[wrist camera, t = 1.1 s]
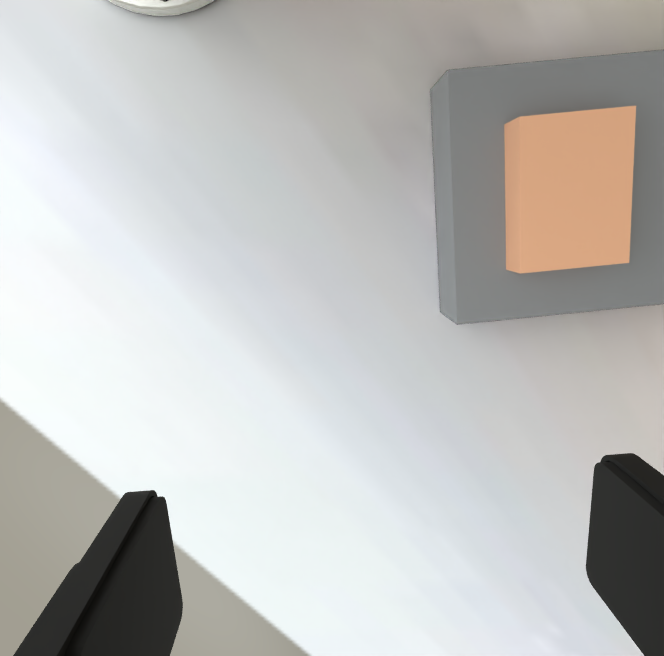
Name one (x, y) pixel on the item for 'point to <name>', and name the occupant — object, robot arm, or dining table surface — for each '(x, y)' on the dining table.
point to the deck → (489, 185)
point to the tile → (569, 189)
